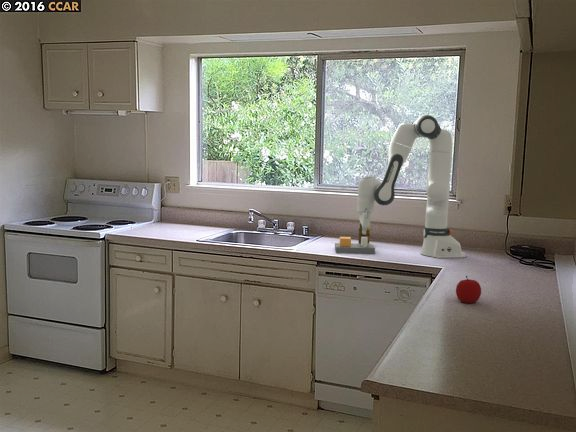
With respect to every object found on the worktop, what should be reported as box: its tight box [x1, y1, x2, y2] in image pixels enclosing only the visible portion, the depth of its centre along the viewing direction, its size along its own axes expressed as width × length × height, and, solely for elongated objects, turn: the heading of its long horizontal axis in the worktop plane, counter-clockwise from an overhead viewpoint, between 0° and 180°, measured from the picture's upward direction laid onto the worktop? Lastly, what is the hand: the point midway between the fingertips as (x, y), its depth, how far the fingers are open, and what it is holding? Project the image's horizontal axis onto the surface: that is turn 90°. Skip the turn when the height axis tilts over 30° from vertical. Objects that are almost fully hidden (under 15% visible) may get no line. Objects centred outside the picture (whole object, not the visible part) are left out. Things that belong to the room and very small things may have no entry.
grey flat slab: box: [334, 242, 376, 255], centre depth 323 cm, size 20×12×4 cm, turn 88°
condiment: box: [357, 222, 371, 244], centre depth 341 cm, size 7×8×12 cm
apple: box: [455, 275, 482, 304], centre depth 231 cm, size 9×9×10 cm
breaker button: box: [361, 237, 368, 246], centre depth 322 cm, size 3×3×5 cm
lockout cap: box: [338, 236, 352, 246], centre depth 323 cm, size 6×6×4 cm
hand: (364, 233), depth 322 cm, fingers closed
